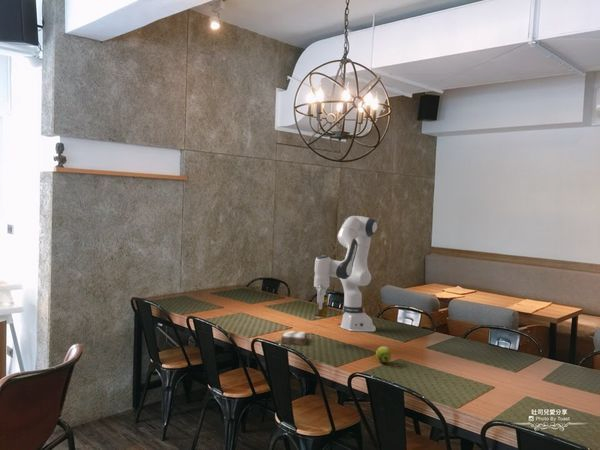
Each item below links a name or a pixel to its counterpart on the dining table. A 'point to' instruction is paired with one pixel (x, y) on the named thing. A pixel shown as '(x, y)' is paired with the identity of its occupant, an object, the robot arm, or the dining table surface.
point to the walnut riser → (294, 337)
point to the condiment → (322, 311)
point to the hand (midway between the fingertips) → (320, 307)
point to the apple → (383, 354)
